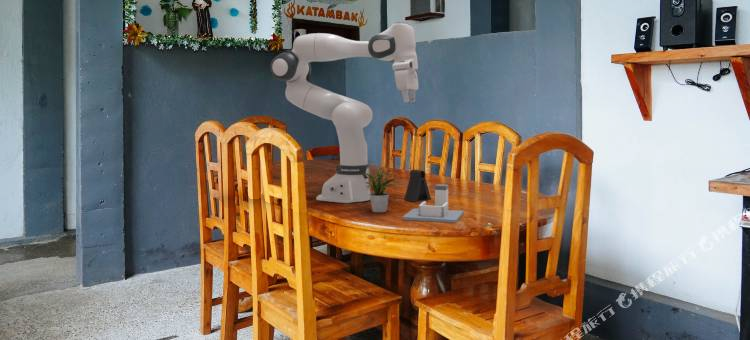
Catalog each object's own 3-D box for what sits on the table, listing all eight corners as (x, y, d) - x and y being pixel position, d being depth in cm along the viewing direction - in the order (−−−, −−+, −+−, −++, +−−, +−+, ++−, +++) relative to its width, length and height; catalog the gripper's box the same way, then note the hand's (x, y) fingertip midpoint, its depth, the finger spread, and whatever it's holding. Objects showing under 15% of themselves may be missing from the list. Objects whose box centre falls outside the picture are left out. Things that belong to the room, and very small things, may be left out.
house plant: (379, 217, 194) (378, 170, 192) (350, 212, 203) (349, 167, 201) (405, 211, 204) (405, 166, 202) (377, 206, 214) (377, 163, 212)
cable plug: (435, 210, 205) (435, 185, 204) (437, 208, 209) (437, 184, 208) (445, 210, 204) (446, 186, 203) (448, 208, 208) (448, 184, 207)
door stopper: (413, 202, 221) (413, 172, 219) (404, 200, 226) (403, 170, 224) (431, 199, 226) (431, 170, 224) (421, 197, 231) (421, 168, 229)
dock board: (402, 219, 190) (402, 206, 190) (413, 211, 204) (413, 198, 204) (455, 222, 185) (455, 209, 184) (463, 213, 199) (463, 201, 198)
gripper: (405, 68, 226) (408, 102, 227) (390, 65, 207) (394, 103, 208) (420, 66, 224) (423, 101, 225) (407, 63, 205) (411, 101, 206)
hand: (409, 102), depth 216 cm, fingers open, 8 cm apart
